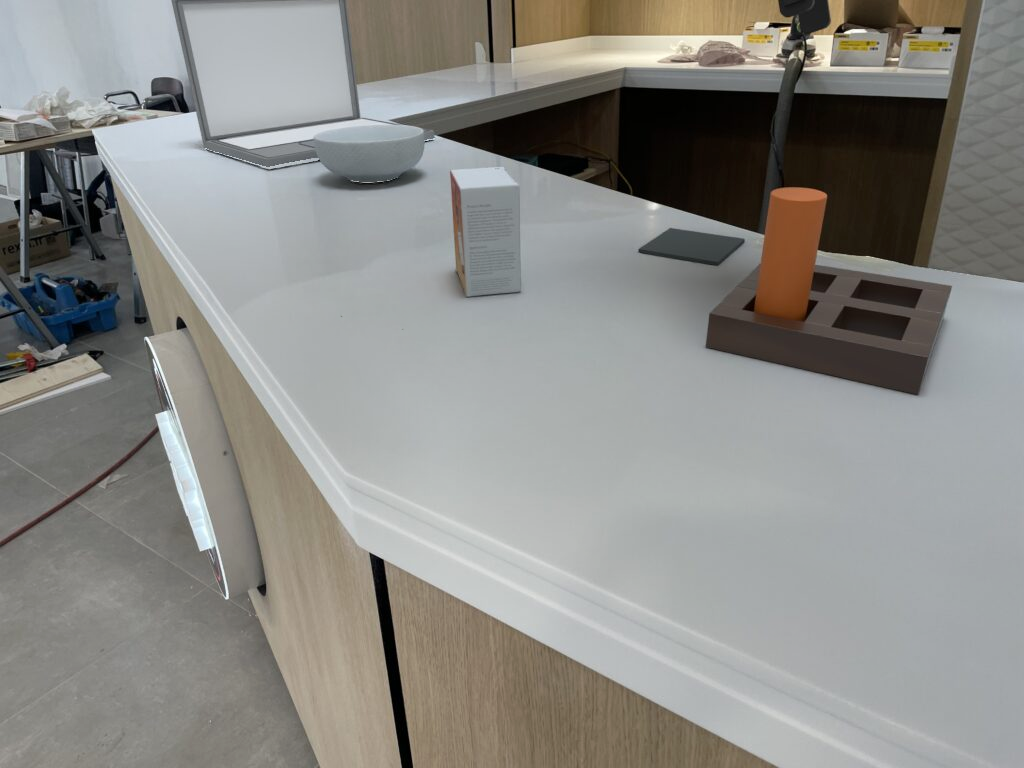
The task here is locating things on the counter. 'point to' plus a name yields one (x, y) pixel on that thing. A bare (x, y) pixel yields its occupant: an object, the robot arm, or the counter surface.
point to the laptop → (270, 75)
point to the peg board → (840, 327)
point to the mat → (692, 246)
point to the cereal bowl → (370, 151)
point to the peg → (789, 252)
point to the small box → (486, 230)
